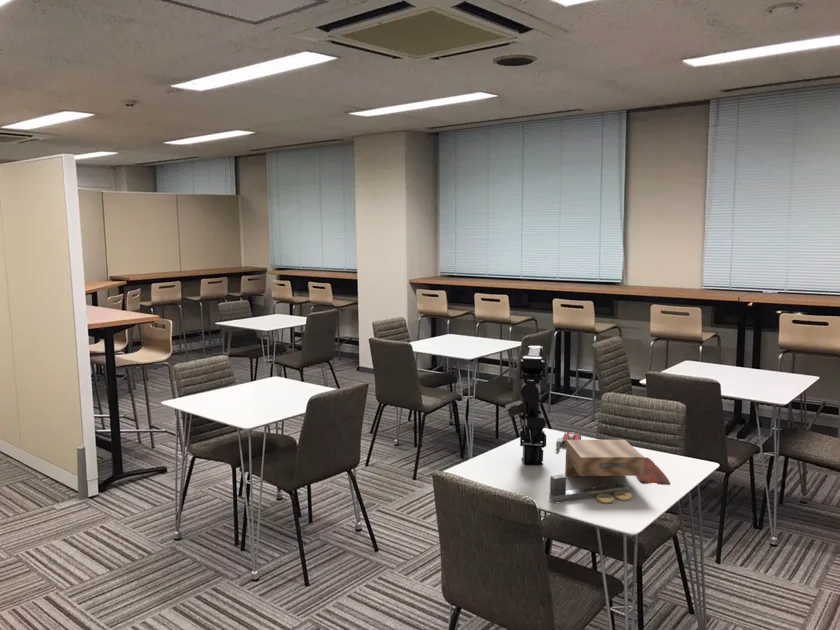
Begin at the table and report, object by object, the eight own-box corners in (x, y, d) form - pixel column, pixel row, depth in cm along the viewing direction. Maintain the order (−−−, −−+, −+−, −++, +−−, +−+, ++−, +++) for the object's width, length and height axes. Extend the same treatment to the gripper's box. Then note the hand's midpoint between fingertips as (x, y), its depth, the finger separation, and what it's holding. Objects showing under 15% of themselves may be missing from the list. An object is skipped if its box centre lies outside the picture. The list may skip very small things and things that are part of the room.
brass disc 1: (602, 505, 198) (602, 500, 198) (593, 499, 203) (593, 494, 202) (616, 503, 199) (616, 499, 199) (607, 497, 204) (607, 493, 204)
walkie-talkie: (559, 438, 265) (554, 453, 246) (559, 427, 264) (554, 441, 245) (581, 440, 262) (578, 455, 243) (582, 429, 262) (578, 444, 243)
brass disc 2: (622, 503, 200) (622, 498, 200) (610, 497, 204) (611, 492, 204) (634, 500, 202) (634, 495, 202) (623, 494, 206) (623, 489, 206)
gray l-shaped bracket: (554, 504, 199) (555, 478, 198) (549, 500, 202) (550, 475, 201) (627, 494, 207) (628, 470, 206) (621, 490, 210) (622, 466, 209)
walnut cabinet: (580, 495, 205) (581, 458, 203) (565, 473, 224) (566, 439, 222) (643, 495, 206) (645, 458, 204) (623, 473, 224) (624, 439, 223)
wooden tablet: (671, 486, 214) (672, 482, 214) (640, 485, 215) (640, 480, 215) (652, 459, 241) (652, 455, 240) (624, 458, 242) (624, 453, 241)
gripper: (502, 387, 226) (501, 431, 228) (512, 401, 207) (511, 449, 209) (534, 387, 226) (533, 431, 228) (547, 401, 208) (545, 448, 209)
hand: (530, 439), depth 219 cm, fingers open, 9 cm apart
